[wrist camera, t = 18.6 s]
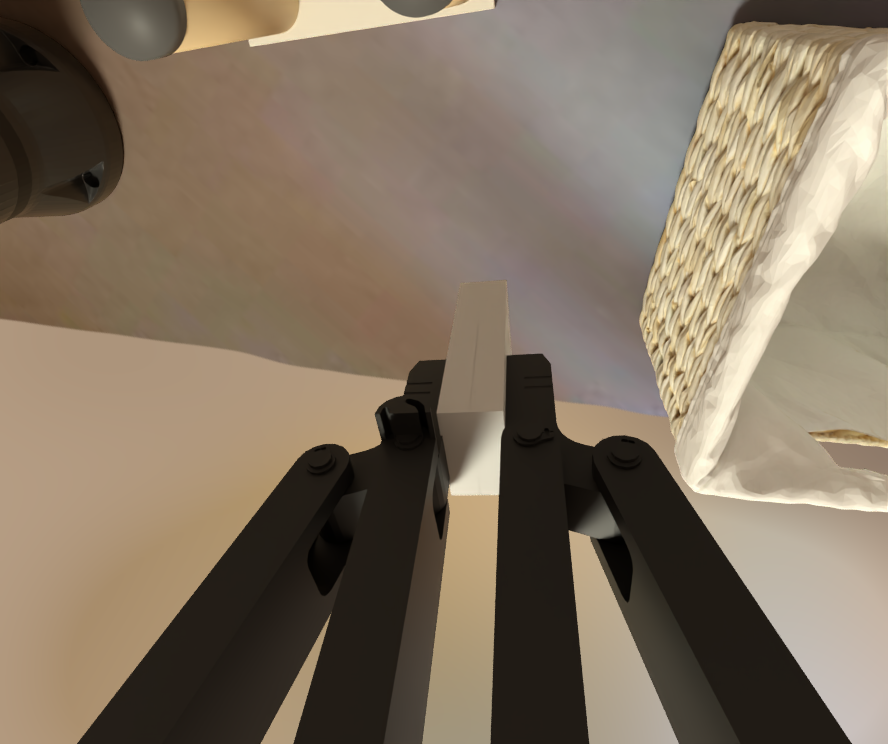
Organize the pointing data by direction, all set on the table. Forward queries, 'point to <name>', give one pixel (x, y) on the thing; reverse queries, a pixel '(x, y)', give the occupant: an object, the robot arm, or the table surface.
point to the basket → (779, 271)
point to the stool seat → (247, 20)
